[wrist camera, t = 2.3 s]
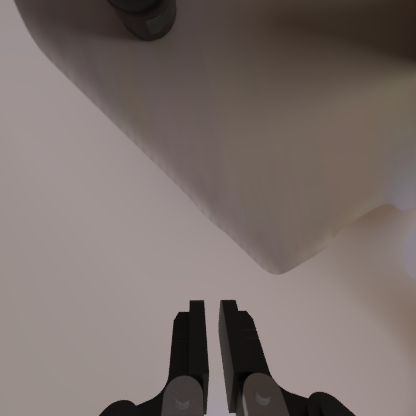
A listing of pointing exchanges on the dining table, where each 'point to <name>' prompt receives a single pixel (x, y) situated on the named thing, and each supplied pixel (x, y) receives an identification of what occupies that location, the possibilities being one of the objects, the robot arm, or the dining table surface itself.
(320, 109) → the dining table surface
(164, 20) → the supplement bottle
